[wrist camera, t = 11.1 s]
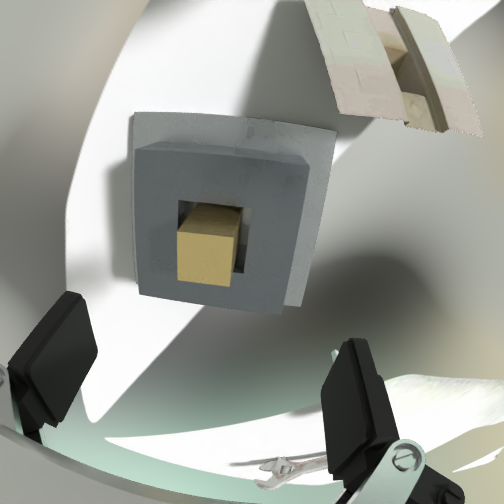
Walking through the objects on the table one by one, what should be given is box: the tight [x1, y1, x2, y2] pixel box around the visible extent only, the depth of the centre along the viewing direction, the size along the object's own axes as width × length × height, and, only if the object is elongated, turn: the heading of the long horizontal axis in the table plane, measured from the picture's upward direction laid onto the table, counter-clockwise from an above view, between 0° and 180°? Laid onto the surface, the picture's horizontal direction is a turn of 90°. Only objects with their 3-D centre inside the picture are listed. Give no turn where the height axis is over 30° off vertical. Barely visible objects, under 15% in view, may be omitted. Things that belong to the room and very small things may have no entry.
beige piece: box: [304, 0, 484, 137], centre depth 22 cm, size 16×9×15 cm
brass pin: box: [177, 202, 244, 287], centre depth 26 cm, size 4×4×10 cm
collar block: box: [132, 112, 337, 315], centre depth 28 cm, size 20×20×7 cm
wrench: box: [254, 456, 328, 490], centre depth 52 cm, size 8×2×30 cm
